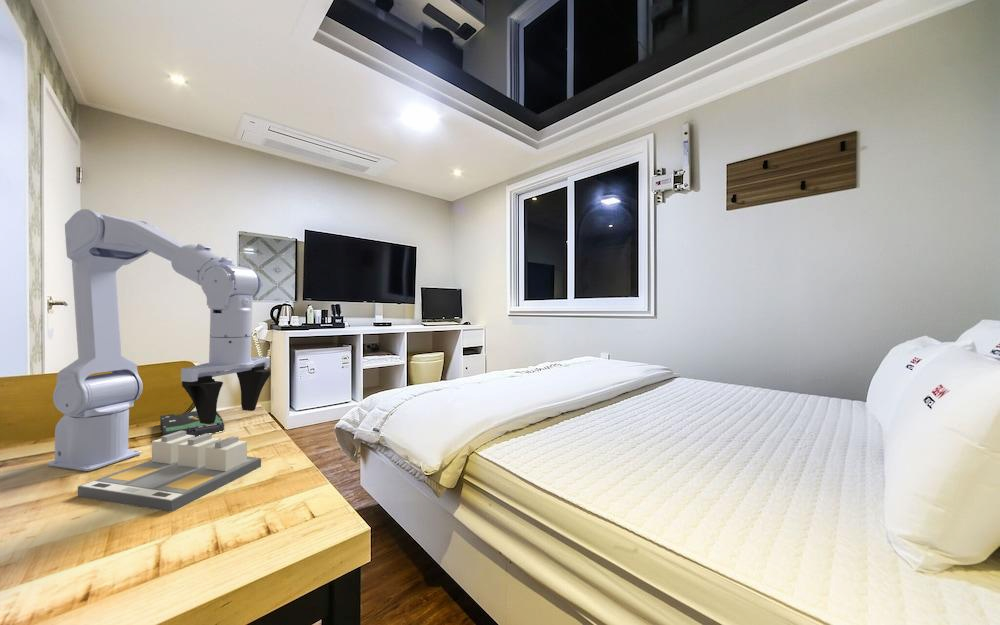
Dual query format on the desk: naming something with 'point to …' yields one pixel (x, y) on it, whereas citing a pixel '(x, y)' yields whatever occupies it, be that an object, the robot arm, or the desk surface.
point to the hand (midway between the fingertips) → (229, 416)
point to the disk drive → (189, 424)
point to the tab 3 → (226, 454)
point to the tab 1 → (168, 447)
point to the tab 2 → (195, 450)
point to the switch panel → (162, 484)
